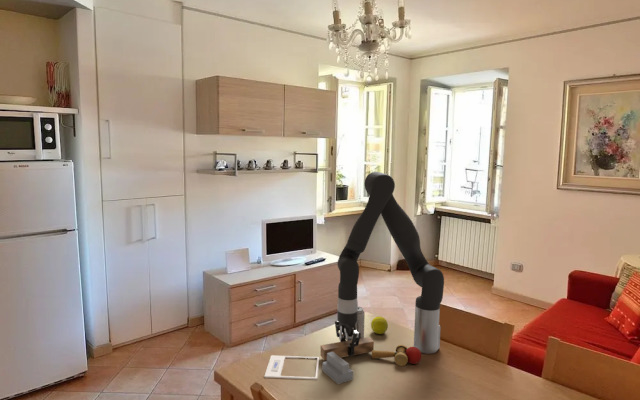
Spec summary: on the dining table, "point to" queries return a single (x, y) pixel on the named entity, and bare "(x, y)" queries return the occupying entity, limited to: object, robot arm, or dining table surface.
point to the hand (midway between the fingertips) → (347, 352)
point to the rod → (342, 348)
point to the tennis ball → (379, 325)
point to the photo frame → (277, 365)
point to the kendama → (400, 355)
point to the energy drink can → (360, 322)
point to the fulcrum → (337, 368)
